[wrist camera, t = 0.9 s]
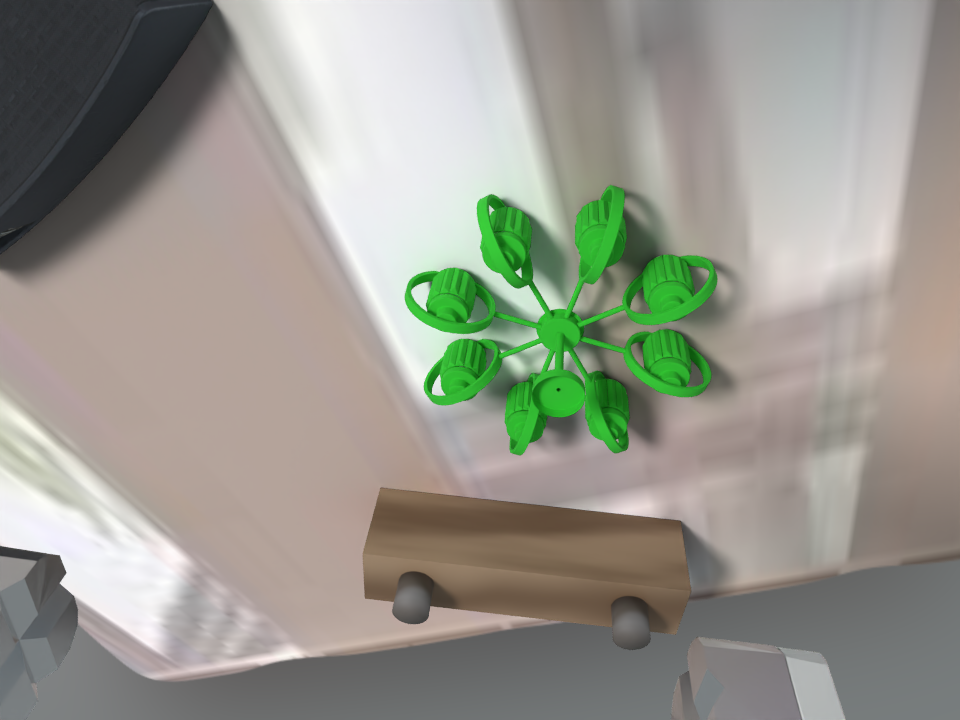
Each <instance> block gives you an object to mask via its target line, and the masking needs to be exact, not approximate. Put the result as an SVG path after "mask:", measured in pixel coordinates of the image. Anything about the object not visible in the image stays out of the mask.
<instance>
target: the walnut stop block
mask: <svg viewBox="0 0 960 720" xmlns="http://www.w3.org/2000/svg"><path fill="white" fill-rule="evenodd" d="M363 570H364V590H365V598H366V599H374V600H383V601H391V602H394V604H393V609H392V613H393V615H394V616H395V617H396V618H397V619H398V620H400V621H402V622H404V623H408V624H420V623H423V622H425V621H426V620H427V619H428V617H429V611H430V606H434V607H443V608H452V609H460V610H469V611H477V612H486V613H495V614H503V615H512V616H521V617H529V618H538V619H546V620H555V621H564V622H572V623H581V624H589V625H598V626H607V627H612V631H613V632H612V633H613V641H614V643H615V644H616V645H617V646H619V647H621V648H624V649H629V650H635V649H641V648H643V647H645V646H647V645H648V644H649V643H650V639H651V638H650V632H659V633H667V634H676V632H677V630H678V627H679V624H680V621H681V618H682V616H683V613H684V610H685V607H686V604H687V602H688V599H689V596H690V593H691V586H690V580H689V573H688V566H687V560H686V553H685V547H684V540H683V533H682V527H681V521H676V520H667V519H658V518H649V517H640V516H631V515H621V514H612V513H603V512H594V511H585V510H576V509H567V508H558V507H549V506H540V505H531V504H522V503H513V502H503V501H494V500H485V499H476V498H467V497H458V496H449V495H440V494H431V493H422V492H413V491H404V490H395V489H385V488H380V492H379V495H378V499H377V503H376V507H375V510H374V514H373V518H372V521H371V525H370V529H369V532H368V536H367V540H366V543H365V547H364V551H363Z"/></svg>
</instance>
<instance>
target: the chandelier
mask: <svg viewBox="0 0 960 720" xmlns="http://www.w3.org/2000/svg"><path fill="white" fill-rule="evenodd" d="M624 200H625V194H624V190H623V189H622V188H619V187H616V186H612V185H610V186H609V187H608V188H607V189H606V190H605V192H604V193H603V195H602V197H601V200H597V201H593V202H590V203H589V204H587V205H585V206H584V207H582V209H581V211H580V212H579V214H578V215H577V222H576V225H575V244H576V246H577V248H578V250H579V254H580V256H581V259H580V265H579V282H578V284H577V286H576V289H575V291H574V294H573V296H572V298H571V301H570V303H569V306H568V308H567V310H565V309H555V310H551V311H550V310H549V308H548V306H547V305H546V303H545V301H544V300H543V298H542V296H541V294H540V293H539V291H538V289H537V288H536V286H535V284H534V283H533V281H532V279H533V268H532V262H531V258H530V254H529V249H530V246H531V236H532V227H531V225H530V223H529V218H528V217H527V216H526V215H524V213H523V212H522V211H520V210H518V209H517V210H516V208H512V207H506V206H505V205H504V203H503V202H502V201H501V200H500V199H499V198H498V197H497V196H495V195H493V194H490V195H488V196H486V197H484V198H482V199H480V200H479V201H478V204H477V217H478V222H479V227H480V230H481V233H482V241H481V246H480V249H481V251H482V255H483V260H484V262H485V264H486V265H487V266H488V267H489V268H490V269H491V270H493V271H495V272H497V273H501V274H502V276H503V277H504V278H505V279H506V281H507V282H508V283H509V284H510V285H512V286H513V287H515V288H522V287H524V286H526V285H529V286H530V288H531V290H532V291H533V293H534V295H535V296H536V298H537V300H538V302H539V303H540V305H541V307H542V308H543V310H544V312H545V314H544V315H543V316H542V317H541V318H540V319H539V321H538V323H534V322H531V321H527V320H524V319H520V318H517V317H513V316H510V315H506V314H503V313H499V312H496V311H495V309H496V306H495V302H494V299H493V298H492V296H491V295H490V293H489V292H488V291H487V290H486V289H485V288H483V287H482V286H481V285H480V284H478V283H476V282H475V281H474V280H473V278H472V277H471V275H469V274H468V273H467V272H466V271H464V270H462V269H458V268H447V269H444V270H442V271H440V272H437V271H429V272H424V273H420V274H418V275H416V276H414V277H413V278H412V279H411V280H410V281H409V283H408V285H407V289H406V293H405V302H406V305H407V307H408V308H409V310H410V311H411V312H412V314H413V315H414V316H416V317H417V318H418V319H419V320H421V321H422V322H424V323H425V324H427V325H429V326H431V327H433V328H436V329H438V330H441V331H444V332H450V333H457V334H470V333H475V332H479V331H481V330H483V329H485V328H487V327H488V326H489V325H490V323H491V322H492V319H493V316H494V317H498V318H501V319H505V320H508V321H512V322H515V323H519V324H522V325H526V326H529V327H533V328H536V329H537V334H538V336H539V339H536V340H534V341H531V342H529V343H526V344H524V345H521V346H519V347H516V348H514V349H511V350H509V351H506V352H503V353H501V351H500V350H499V348H498V347H497V345H496V344H495V343H494V342H493V341H491V340H487V339H482V340H479V341H477V342H476V341H473V340H470V339H461V340H460V339H459V340H456V341H454V342H452V343H451V344H450V345H449V346H448V347H447V350H446V352H445V353H444V356H443V357H442V358H441V359H440V360H439V361H438V362H437V363H436V364H435V365H434V366H433V367H432V369H431V370H430V372H429V373H428V375H427V377H426V379H425V382H424V391H425V393H426V395H427V396H428V397H429V399H430V400H431V401H432V402H433V403H435V404H437V405H451V404H455V403H458V402H461V401H466V400H469V399H472V398H473V397H475V396H476V394H477V393H478V392H479V391H480V390H481V389H483V388H484V387H485V386H486V385H487V384H488V383H489V382H490V381H491V380H492V379H493V378H494V376H495V375H496V374H497V372H498V370H499V368H500V366H501V363H502V358H504V357H507V356H509V355H512V354H515V353H517V352H520V351H522V350H525V349H527V348H530V347H532V346H535V345H537V344H540V343H543V345H544V346H545V347H546V348H548V349H549V350H550V352H549V354H548V357H547V359H546V361H545V364H544V366H543V369H542V371H541V373H540V375H538V374H534V373H532V374H531V375H530V376H529V378H528V381H527V382H522V383H518V384H516V385H515V386H514V387H512V389H511V390H510V391H509V392H508V394H507V403H506V412H505V424H506V426H507V433H508V435H509V436H510V452H511V453H513V454H516V455H522V454H523V453H524V452H525V450H526V448H527V446H528V444H529V443H531V442H534V441H536V440H538V439H539V438H540V437H541V436H542V434H543V430H544V428H545V427H546V421H547V415H549V416H552V417H566V416H570V415H572V414H574V413H576V412H577V411H578V410H580V409H581V407H582V406H583V404H584V401H585V418H586V420H587V424H588V426H589V430H590V432H591V434H592V435H593V436H594V437H595V438H597V439H599V440H603V441H604V442H605V444H606V445H607V446H608V448H609V449H610V450H611V451H612V452H614V453H619V452H622V451H625V450H627V448H628V444H629V440H628V432H627V424H628V421H629V419H630V415H629V404H628V396H627V394H626V389H625V388H624V387H623V385H621V384H620V383H619V382H617V381H616V380H612V379H605V377H604V375H603V374H602V373H601V372H600V371H595V372H592V373H589V374H587V372H586V370H585V368H584V367H583V365H582V363H581V362H580V360H579V358H578V357H577V355H576V353H575V352H574V350H573V348H574V347H575V346H576V345H577V344H578V343H579V341H582V342H586V343H589V344H593V345H596V346H600V347H603V348H607V349H610V350H614V351H617V352H621V353H623V355H624V360H625V362H626V364H627V366H628V367H629V369H630V370H631V371H632V372H633V374H634V375H635V376H636V377H638V378H639V379H640V380H641V381H643V382H644V383H645V384H647V385H649V386H650V387H652V388H653V389H655V390H656V391H658V392H660V393H664V394H669V395H673V396H678V397H693V396H697V395H699V394H701V393H702V392H703V391H704V390H705V389H706V387H707V385H708V384H709V382H710V380H711V370H710V367H709V365H708V363H707V362H706V360H705V359H704V358H703V357H702V356H701V355H700V354H699V353H698V352H697V351H696V350H695V349H693V348H692V347H691V346H689V345H688V344H687V342H686V341H685V340H684V338H683V337H682V335H681V334H679V333H678V332H676V331H672V330H669V329H664V330H658V331H656V332H654V333H650V332H639V333H636V334H634V335H633V336H631V337H630V338H629V340H628V342H627V344H626V346H625V348H622V347H618V346H615V345H611V344H608V343H604V342H601V341H597V340H594V339H590V338H587V337H583V333H584V326H585V325H588V324H590V323H593V322H595V321H598V320H600V319H603V318H605V317H608V316H610V315H613V314H615V313H618V312H620V311H623V310H625V311H626V313H627V315H628V317H629V318H630V319H631V320H632V321H634V322H636V323H639V324H643V325H656V324H662V323H667V322H670V321H677V320H680V319H682V318H683V317H685V316H686V315H687V314H689V313H690V312H692V311H694V310H695V309H697V308H698V307H699V306H701V305H702V304H703V303H704V302H705V301H706V300H707V299H708V298H709V297H710V296H711V294H712V293H713V291H714V290H715V287H716V285H717V274H716V272H715V269H714V267H713V265H712V263H711V262H710V261H709V260H708V259H706V258H704V257H700V256H682V257H677V256H674V255H663V257H662V255H661V256H659V257H656V258H654V259H652V260H651V261H650V262H649V263H648V264H647V266H646V267H645V269H644V270H643V273H642V274H641V275H639V276H638V277H637V278H636V279H635V280H634V281H633V282H632V283H631V284H630V285H629V287H628V288H627V289H626V291H625V293H624V296H623V300H622V303H623V305H621V306H619V307H616V308H614V309H611V310H609V311H606V312H604V313H601V314H599V315H596V316H594V317H591V318H589V319H586V320H584V321H582V320H581V318H580V317H579V316H578V315H577V314H575V313H574V312H572V310H573V307H574V305H575V303H576V300H577V298H578V296H579V293H580V291H581V288H582V286H583V284H584V282H585V283H588V284H594V283H595V282H596V281H597V280H598V279H599V277H600V275H601V274H602V272H603V270H604V268H606V267H609V266H612V265H613V264H615V263H616V262H617V261H618V260H619V259H620V258H621V256H622V254H623V251H624V249H625V243H626V240H627V233H626V225H625V219H624V218H623V216H622V214H623V209H624ZM489 205H490V206H491V207H492V208H493V209H494V210H495V211H493V212H492V213H491V215H489ZM598 210H599V213H598ZM506 213H507V214H506ZM505 219H506V220H505ZM599 224H601V225H599ZM504 225H505V226H504ZM587 229H588V230H587ZM513 230H514V231H513ZM501 231H507V232H501ZM497 232H498V233H497ZM510 232H512V233H510ZM663 261H664V262H663ZM687 266H698V267H703V268H705V269H707V270H709V271H710V274H709V278H708V280H707V282H706V284H705V285H704V286H703V288H702V289H701V290H700V291H699V292H698V293H697V294H696V295H694V292H695V289H694V284H693V280H692V276H691V272H690V270H689V269H688V267H687ZM520 267H521V270H522V278H520V277H519V276H518V275H517V274H516V273H515V271H517V270H518V269H519V268H520ZM664 267H665V268H664ZM665 272H666V273H665ZM430 281H433V282H432V285H431V289H430V292H429V296H428V299H427V303H426V307H427V312H426V311H425V310H424V309H422V308H421V307H420V306H419V305H418V304H417V303H416V302H415V300H414V299H413V297H412V294H411V290H412V289H413V288H414V287H415V286H417V285H419V284H421V283H424V282H430ZM666 281H669V282H666ZM675 281H678V282H675ZM664 282H665V283H664ZM661 283H662V284H661ZM659 284H660V285H659ZM657 285H658V286H657ZM656 286H657V287H656ZM642 287H643V291H644V298H645V301H646V303H647V304H648V306H649V309H650V310H651V312H652V314H640V313H636V312H634V311H632V310H630V305H631V302H632V299H633V297H634V296H635V294H636V293H637V292H638V291H639V290H640V289H641V288H642ZM447 293H450V294H447ZM440 294H442V295H440ZM451 294H453V295H451ZM455 295H457V296H459V297H460V298H459V297H457V296H455ZM476 295H477V296H479V297H480V298H481V299H482V300H483V301H484V303H485V304H486V306H487V307H488V310H489V315H488V316H487V317H486V318H485V319H483V320H481V321H478V322H473V323H466V322H467V320H468V319H469V318H470V316H471V312H472V310H473V306H474V301H475V296H476ZM659 333H660V334H659ZM660 339H661V340H660ZM641 341H645V342H644V344H643V346H642V348H643V360H644V368H645V369H643V368H642V367H641V366H640V365H639V364H638V362H637V361H636V360H635V358H634V357H633V355H632V352H631V345H633V344H634V343H637V342H641ZM467 346H468V347H467ZM661 346H662V347H661ZM483 348H488V349H492V350H494V358H493V360H492V363H491V364H490V366H489V367H488V369H487V370H486V371H485V368H486V362H487V361H486V353H485V351H484V349H483ZM466 351H467V352H466ZM565 351H569V353H570V355H571V357H572V358H573V360H574V362H575V363H576V365H577V367H578V368H579V370H580V372H581V373H582V375H583V377H584V378H585V387H584V384H583V381H582V380H581V379H580V378H579V377H578V376H577V375H576V374H574V373H572V372H570V371H567V370H563V362H564V352H565ZM555 352H556V354H555V370H550V371H547V370H548V367H549V365H550V362H551V360H552V358H553V355H554V353H555ZM662 352H663V353H662ZM465 356H466V357H465ZM669 357H673V358H669ZM662 358H665V359H662ZM660 359H661V360H660ZM690 359H691V360H692V361H693V362H694V363H695V364H696V365H697V367H698V368H699V369H700V371H701V373H702V376H703V384H701V385H698V386H695V387H686V386H687V384H688V383H689V380H690V373H691V360H690ZM464 361H465V362H464ZM460 366H464V367H460ZM465 367H467V368H465ZM439 374H440V377H441V387H442V390H443V392H444V393H445V394H446V395H445V396H436V395H433V394H432V387H433V384H434V382H435V380H436V378H437V377H438V375H439ZM595 380H596V382H595ZM524 389H525V390H524ZM585 389H586V396H585ZM607 392H608V394H607ZM616 439H618V440H619V443H618V442H617V441H616Z"/></svg>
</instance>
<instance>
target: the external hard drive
mask: <svg viewBox="0 0 960 720" xmlns="http://www.w3.org/2000/svg"><path fill="white" fill-rule="evenodd" d="M211 6H212V1H211V0H0V254H1V253H2V252H4V251H5V250H6V249H8V248H9V247H10V246H12V245H13V244H14V243H15V242H16V241H18V240H19V239H20V238H22V236H23V235H25V234H26V233H27V232H28V231H30V230H31V229H32V228H33V227H34V226H35V225H37V224H38V223H39V222H40V221H41V220H42V219H43V218H44V217H45V216H46V215H47V214H49V213H50V212H51V211H52V210H53V209H54V208H55V207H56V206H57V205H58V204H59V203H60V202H61V201H62V200H63V199H64V198H65V197H66V196H67V195H68V194H69V193H70V192H71V191H72V190H73V189H74V188H75V187H76V186H77V185H78V184H79V183H80V182H81V181H82V180H83V179H84V178H85V177H86V175H87V174H88V173H89V172H90V171H91V170H92V169H93V168H94V167H95V166H96V165H97V164H98V163H99V162H100V161H101V160H102V158H103V157H104V156H105V155H106V154H107V152H108V151H109V150H110V149H111V148H112V147H113V145H114V144H115V143H116V142H117V141H118V139H119V138H120V137H121V136H122V134H123V133H124V132H125V131H126V130H127V128H128V127H129V126H130V125H131V124H132V122H133V121H134V120H135V118H136V117H137V116H138V115H139V114H140V112H141V111H142V110H143V108H144V107H145V106H146V105H147V103H148V102H149V101H150V99H151V98H152V97H153V95H154V94H155V92H156V91H157V89H158V88H159V87H160V86H161V84H162V83H163V82H164V80H165V79H166V77H167V76H168V74H169V73H170V71H171V70H172V69H173V67H174V66H175V64H176V63H177V61H178V60H179V58H180V57H181V56H182V54H183V53H184V51H185V50H186V48H187V46H188V45H189V43H190V41H191V40H192V39H193V37H194V35H195V34H196V32H197V31H198V29H199V27H200V26H201V24H202V23H203V21H204V20H205V18H206V16H207V13H208V11H209V9H210V8H211Z"/></svg>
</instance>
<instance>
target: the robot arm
mask: <svg viewBox="0 0 960 720" xmlns="http://www.w3.org/2000/svg"><path fill="white" fill-rule="evenodd" d="M65 574H66V571H65V568H64V565H63V563H62V560H61V558H60V555H53V554H47V553H40V552H34V551H28V550H21V549H15V548H8V547H2V546H0V720H26V719H27V717H28V716H29V714H30V713H31V711H32V709H33V708H34V706H35V705H36V703H37V702H38V698H37V687H36V683H37V682H39V681H40V680H42V679H43V678H45V677H46V676H48V675H49V674H51V673H52V672H54V671H56V670H57V669H58V668H59V666H60V665H61V663H62V661H63V660H64V658H65V656H66V655H67V653H68V652H69V650H70V648H71V645H72V642H73V638H74V635H75V632H76V629H77V626H78V608H77V605H76V601H75V598H74V596H73V595H72V594H71V593H70V592H69V591H67V590H66V589H65V588H64V587H63V586H62V585H61V584H59V583H60V582H61V580H62V579H63V577H64V576H65ZM687 658H688V665H689V671H687V672H686V673H684V674H682V675H681V676H679V678H678V681H677V685H676V688H675V691H674V696H673V705H672V714H671V720H846V718H845V715H844V712H843V709H842V706H841V703H840V700H839V697H838V694H837V690H836V688H835V684H834V681H833V678H832V675H831V672H830V669H829V666H828V663H827V661H826V660H825V658H823V656H822V655H821V653H817V652H812V651H804V650H795V649H786V648H776V647H775V646H771V645H763V644H754V643H745V642H737V641H728V640H719V639H711V638H702V637H696V639H694V640H693V641H692V643H691V646H690V648H689V651H688V653H687Z"/></svg>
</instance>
